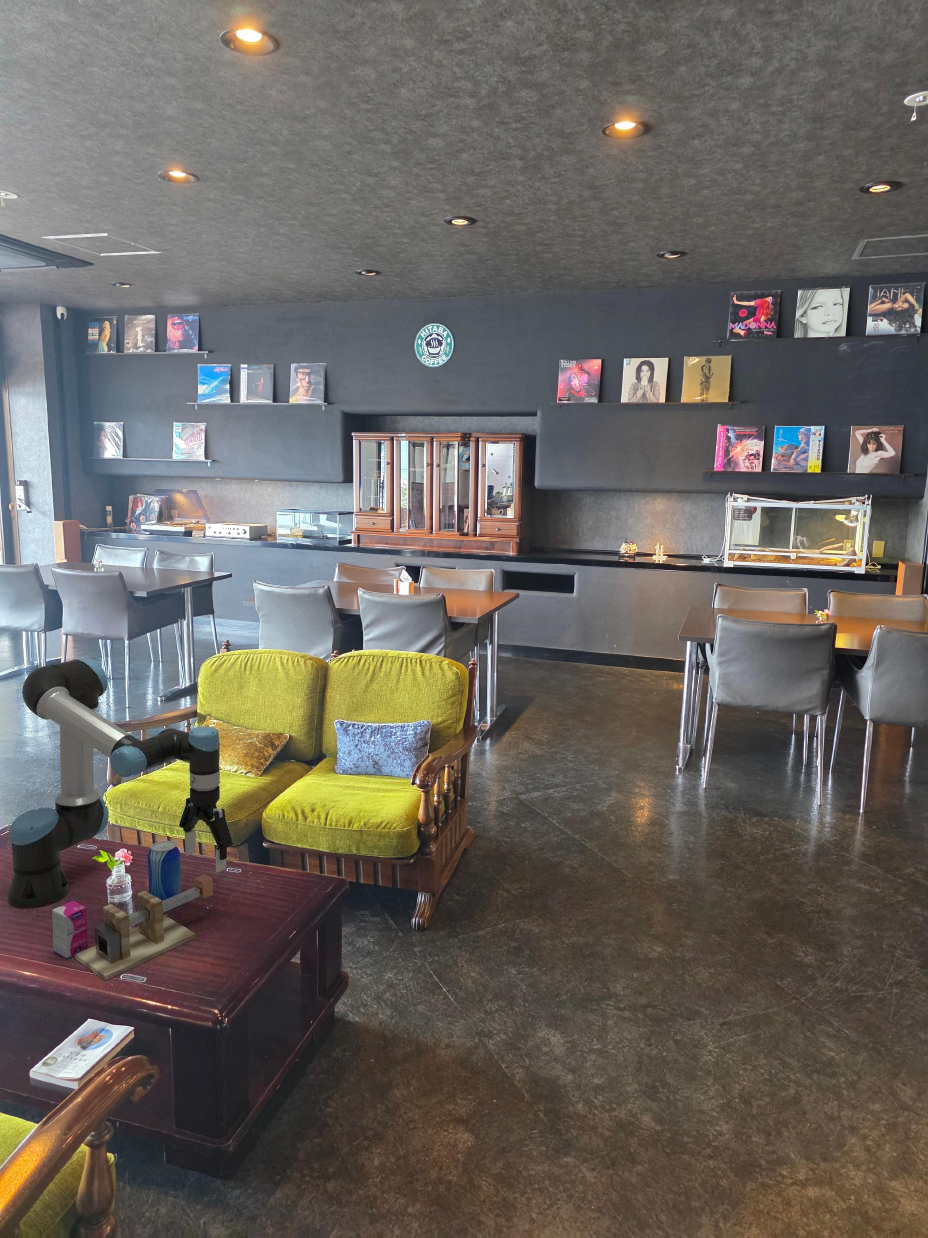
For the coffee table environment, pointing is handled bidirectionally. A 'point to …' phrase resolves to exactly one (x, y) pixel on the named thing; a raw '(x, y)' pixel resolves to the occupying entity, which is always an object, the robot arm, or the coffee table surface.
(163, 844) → the beer can
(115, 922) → the bearing stand
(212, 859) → the coffee table surface
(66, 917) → the supplement box
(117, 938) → the spacer
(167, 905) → the shaft
